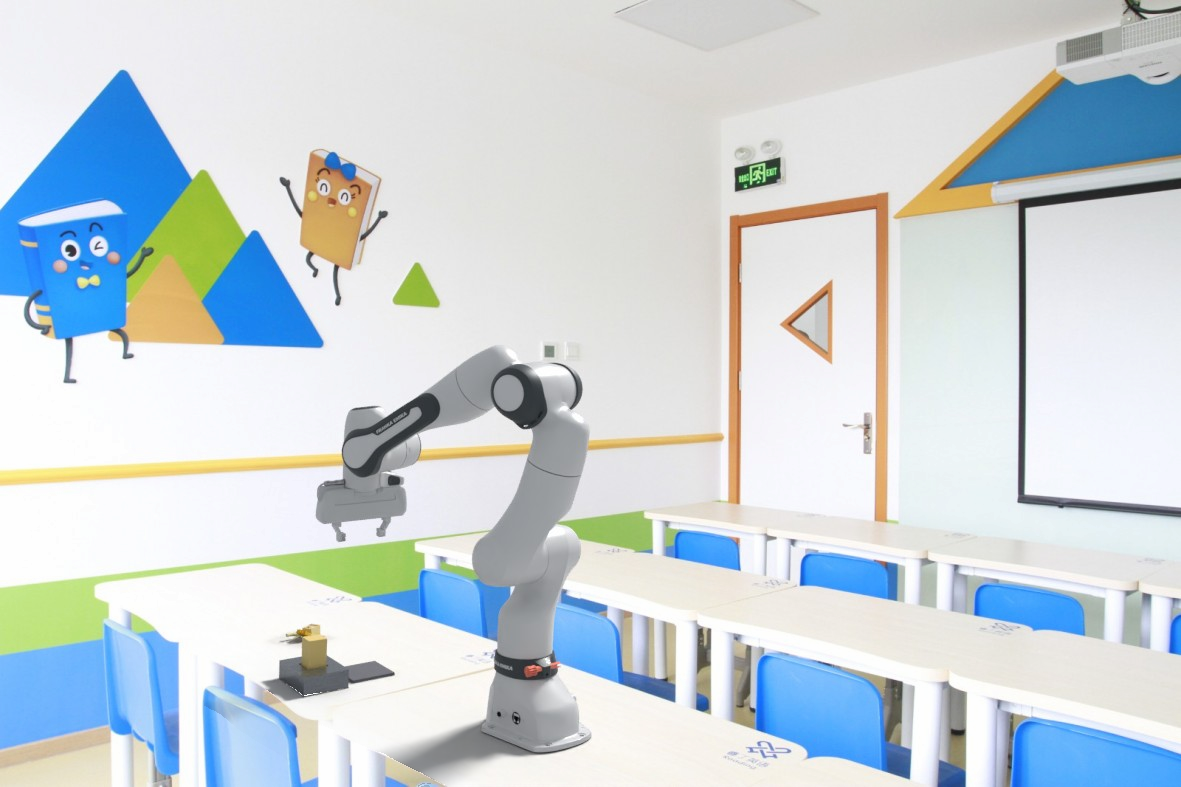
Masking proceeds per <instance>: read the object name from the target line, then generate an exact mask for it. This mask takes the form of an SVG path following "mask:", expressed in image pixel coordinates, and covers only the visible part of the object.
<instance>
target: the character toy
mask: <svg viewBox="0 0 1181 787" xmlns="http://www.w3.org/2000/svg"><path fill="white" fill-rule="evenodd" d="M317 634H320V635H321V624H318V623H317V624H315V623H310V624H308V625H305V626H304V627H302V629H300V628H299V629H298V628H297V630H296V632H288V633H286V634H285V637H286V638H288V637H292V638H293V640H296V639H299V638H302V637H305V636H311V635H317Z"/></svg>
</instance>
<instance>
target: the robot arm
mask: <svg viewBox="0 0 1181 787" xmlns="http://www.w3.org/2000/svg"><path fill="white" fill-rule="evenodd" d="M583 390H584V389H583V382H582V379H581V377H580V375H579V373H578V372H577V371H576V370H575V369H573V368H572V367H571V366H568V365H566V364H563V363H559V362H542V361H532V362H523V361H522V360H521V358H520V357H519V355H518V354H517V353H516V352H515V351H514V350H513V349H512V348H510V347H509V346H505V345H502V344H496V345H493V346H490V347H487V348H485V349H484V350H481V351H479V352H478V353H476V354H474V355H472V356H471V357H469V358H467V359H466V360H465V361H463V362H462V363H461V364H459V365H458V366H456V367H455V368H454V369H453V370H452V371H450V372H448V373H447V374H446V375H444V376H443V377H442V378H441V379H439V380H438V381H437V382H435V383H434V384H432V385H431V386H430V387H428V388H427V389H426V390H424V391H423V392H422V393H420V394H419V395H418V396H416V397H415V398H413V399H412V400H410V401H408V402H406V403H405V404H403V405H402V406H400V407H399V408H397V409H396V410H395V411H393V412H391V413H390V414H388V413H387V411H385V409H384V407H382V406H380V405H368V406H361V407H354V408H351V409H350V410H349V411H348V413H347V416H346V418H345V422H344V423H345V424H344V430H343V432H344V434H343V442H342V447H341V458H342V461H343V462H342V479H335V480H325V481H323V482H322V483H320V484H319V485H318V487H317V488H316V497H317V502H316V508H315V518H316V520H317V521H318V522H319V523H320V524H323V525H328V524H331V527H332V529H333V530H334V532H335V533H336V537H335V538H336V542H338V543H341V542H346V541H347V538H346V537H347V535H346V534H347V533H345V532H344V531H342V530H341V529H340V528H341V527H342V523H347V522H357V521H367V520H374V519H381V521H382V522H381V524H380V526H379V527H376V534H375V535H376V536H377V537H378V538H383V537H386V533H387V532H386V531H387V528H388V527H389V525H390V524H391V522H392V521H391V520H392V518H393V517H400V516H401V517H402V516H404V515H405V514H406V512H407V506H408V504H407V503H408V502H407V501H408V500H407V492H406V489H405V487H404V486H403V485H404V484H405V477H404V476H403V475H401V474H399V473H397V472H395V470H401V469H404V468H408V467H410V466H413V465H415V464H416V463H417V461H418V460H419V458H420V456H421V452H422V442H421V441H422V440H421V438H420V435H419V434H421V433H423V432H426V431H429V430H433V429H434V430H435V429H438V428H443V427H449V426H454V425H456V426H457V425H461V424H465V423H468V422H470V421H473V420H475V419H479V418H480V417H482V416H484V415H485V414H486V413H489V412H490V411H491V410H493V408H495V410H496V411H498V413H500V414H501V415H502V416H504V417H505V418H507V419H508V420H510V421H512V422H513V423H514V424H515V425H516V426H517V427H518V428H520V429H521V430H530V429H531V431H532V441H531V444H530V448H529V452H528V455H527V456H526V457H527V458H526V462H525V465H524V467H523V472H522V475H521V478H520V479H519V484H518V487H517V490H516V492H515V494H514V496H513V498H512V499H511V502H510V504H509V505H508V506H507V508H506V510H505V511H504V513H503V514H502V516H501V517H500V519H499V520H498V521H497V523H495V525H494V526H493V527H492V528H491V529H490V531H489V532H487V533H486V534H485V535H484V536H482V538H479V539H478V540H477V541H476V543H475V545H474V546H473V550H472V554H471V563H472V564H471V565H472V569H473V571H474V574H475V576H476V577H477V579H478V580H479V582H481V583H482V584H484V585H485V586H487V587H497V588H498V587H499V588H502V587H503V588H510V587H514V588H513V591H512V592H511V594H510V596H509V598H507V600H506V601H505V602H504V604H502V606H501V608H500V610H499V612H498V617H497V642H496V643H497V646H496V649H495V650H494V656H493V663H494V665H493V668H494V670H495V673H494V678H493V680H492V683H491V685H490V687H489V692H488V700H487V708H486V716H485V717H486V718H485V721H484V722H483V723H482V724H481V729H480V731H481V732H482V733H485V734H487V735H488V736H489V735H490V736H493V737H495V738H498V739H500V740H502V741H504V742H507V743H509V744H512V745H514V746H518V747H520V748H522V749H525V750H527V751H530V752H532V753H548V752H549V753H550V752H555V751H556V752H557V751H561V750H564V749H569V748H573V747H575V746H579V745H580V744H583V743H585V742H587V741H588V740H590V739H591V738H592V730H590V728H588V727H587V726H586V725H585V724H583V723H581V722H580V710H579V704H578V702H577V696H576V694H575V693H573V692H572V693H571V692H570V691H569V688H567V686H566V684H565V683H564V682H563V680H562V679H561V677H560V675H559V673H558V672H559V668H561V665H559V664H561V661H557V657H556V653H555V650H554V648H553V646H554V645H553V644H554V630H555V627H554V626H555V616H556V610H557V605H558V603H559V598H560V595H561V593H562V590H563V587H564V585H565V582H566V580H567V578H568V577H569V575H570V574H571V572H572V571H573V570H574V569H575V567H576V566H577V565H578V563H579V561H580V559H581V553H582V547H581V541H580V539H579V536H578V535H577V533H576V532H575V531H574V529H573V528H572V527H570V526H568V525H565V524H559V522H560V521H561V520H562V519H563V518H564V517H566V515H568V513H569V512H570V511H571V509H572V506H573V504H574V501H575V497H576V494H577V491H578V487H579V485H580V480H581V478H582V474H583V472H584V467H585V463H586V460H587V459H586V458H587V455H588V449H589V442H590V433H591V432H590V430H591V429H590V426H589V423H588V421H587V420H586V418H584V417H583V416H582V415H581V414H579V413H577V412H575V411H573V409H574V408H576V407H577V406H578V404H579V403H580V401H581V400H582V396H583Z"/></svg>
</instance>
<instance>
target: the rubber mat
mask: <svg viewBox="0 0 1181 787" xmlns="http://www.w3.org/2000/svg"><path fill="white" fill-rule="evenodd" d="M343 666H344V665H343ZM344 667H346V668H348V669H349V682H351V684H357V683H358V684H359V683H362V682H366V681H367V682H368V681H372V680H376V679H380V678H381V679H382V678H387V677H392V676H395V671H393V670H391V668H388V667H386V666H385V665H382V664H381V663H379V662H378V661H376V660H372V661H371V660H370V661H367V662H366V661H365V662H361V663H355V664H351V665H350V664H349V665H345V666H344Z"/></svg>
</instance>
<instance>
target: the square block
mask: <svg viewBox="0 0 1181 787" xmlns="http://www.w3.org/2000/svg"><path fill="white" fill-rule="evenodd" d="M301 656H302V662H301V666H302V667H304V668H305V669H307V670H310V669H315V668H321V667H326V661H327V656H328V638H327V637H325V635H322V634H321V633H320V634H317V635H311V636H305V637H302V636H301Z"/></svg>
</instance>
